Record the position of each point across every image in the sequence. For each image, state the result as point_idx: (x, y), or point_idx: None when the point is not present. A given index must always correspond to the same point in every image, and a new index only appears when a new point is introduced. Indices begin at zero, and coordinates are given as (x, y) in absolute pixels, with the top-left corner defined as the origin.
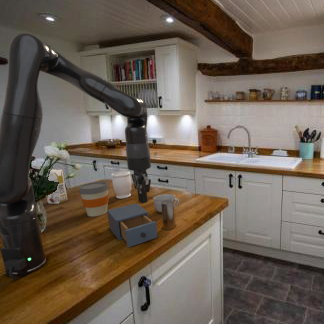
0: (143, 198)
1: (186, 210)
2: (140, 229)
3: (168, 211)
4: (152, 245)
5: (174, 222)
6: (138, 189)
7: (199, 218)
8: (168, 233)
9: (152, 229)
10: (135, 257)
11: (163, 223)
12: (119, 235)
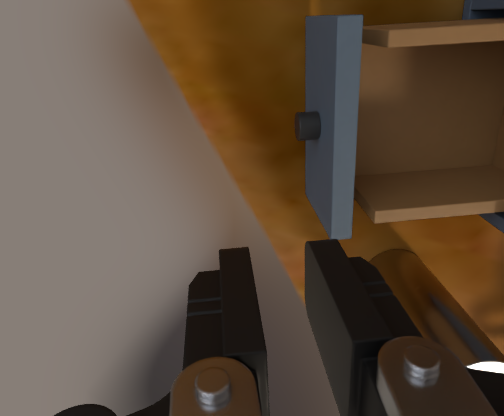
0: (188, 324)
1: None
2: (328, 124)
3: None
4: (256, 146)
5: None
6: (386, 409)
7: None
8: None
9: (319, 193)
10: (186, 29)
11: (406, 266)
12: (481, 3)
